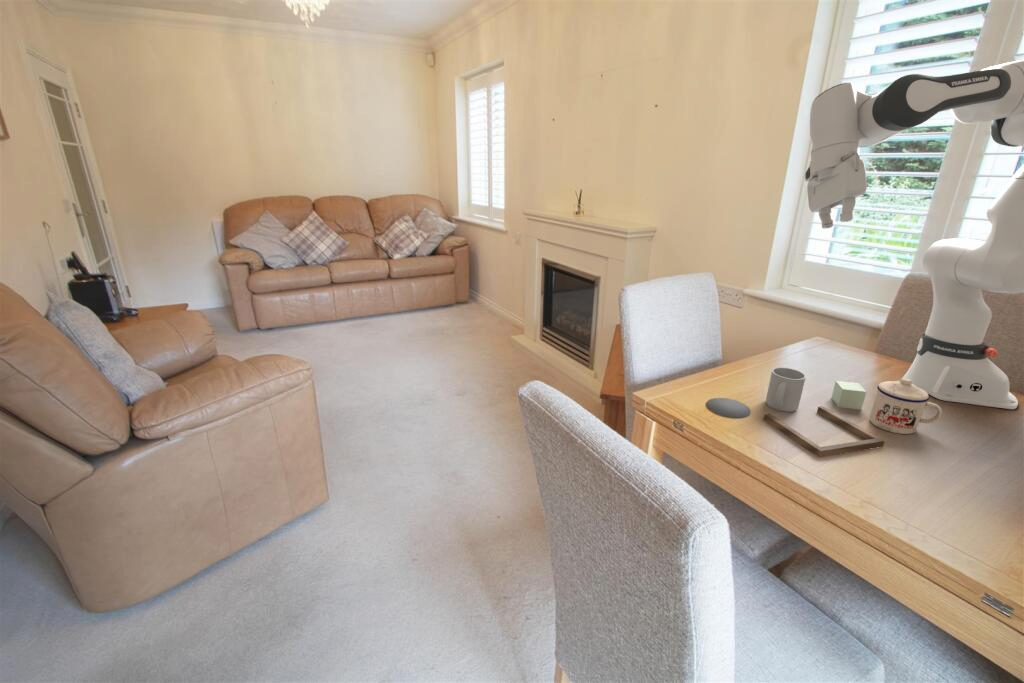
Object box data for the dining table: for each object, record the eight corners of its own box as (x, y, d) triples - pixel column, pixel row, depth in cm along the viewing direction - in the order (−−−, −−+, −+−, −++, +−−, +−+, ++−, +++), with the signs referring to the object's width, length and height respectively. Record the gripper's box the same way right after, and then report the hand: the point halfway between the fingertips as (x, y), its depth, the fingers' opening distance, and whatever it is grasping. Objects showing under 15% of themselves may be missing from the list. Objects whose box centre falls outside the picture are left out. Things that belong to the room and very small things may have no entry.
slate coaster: (752, 406, 116) (752, 404, 116) (747, 423, 108) (747, 421, 108) (710, 396, 121) (710, 394, 121) (702, 412, 113) (703, 410, 113)
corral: (763, 419, 109) (764, 413, 109) (821, 411, 113) (822, 406, 112) (818, 457, 95) (820, 451, 94) (882, 446, 98) (884, 440, 98)
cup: (800, 404, 116) (808, 372, 113) (791, 420, 109) (799, 386, 106) (769, 396, 120) (776, 365, 117) (758, 410, 113) (765, 377, 110)
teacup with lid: (867, 427, 106) (881, 381, 101) (867, 411, 112) (880, 367, 108) (936, 444, 99) (954, 396, 95) (931, 426, 106) (948, 380, 102)
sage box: (853, 400, 118) (858, 383, 116) (861, 409, 113) (866, 391, 112) (831, 398, 119) (835, 380, 117) (837, 407, 115) (842, 389, 113)
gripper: (875, 145, 92) (877, 214, 93) (830, 172, 112) (832, 229, 113) (839, 150, 94) (841, 218, 95) (801, 176, 114) (803, 232, 114)
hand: (836, 224), depth 104 cm, fingers open, 8 cm apart
